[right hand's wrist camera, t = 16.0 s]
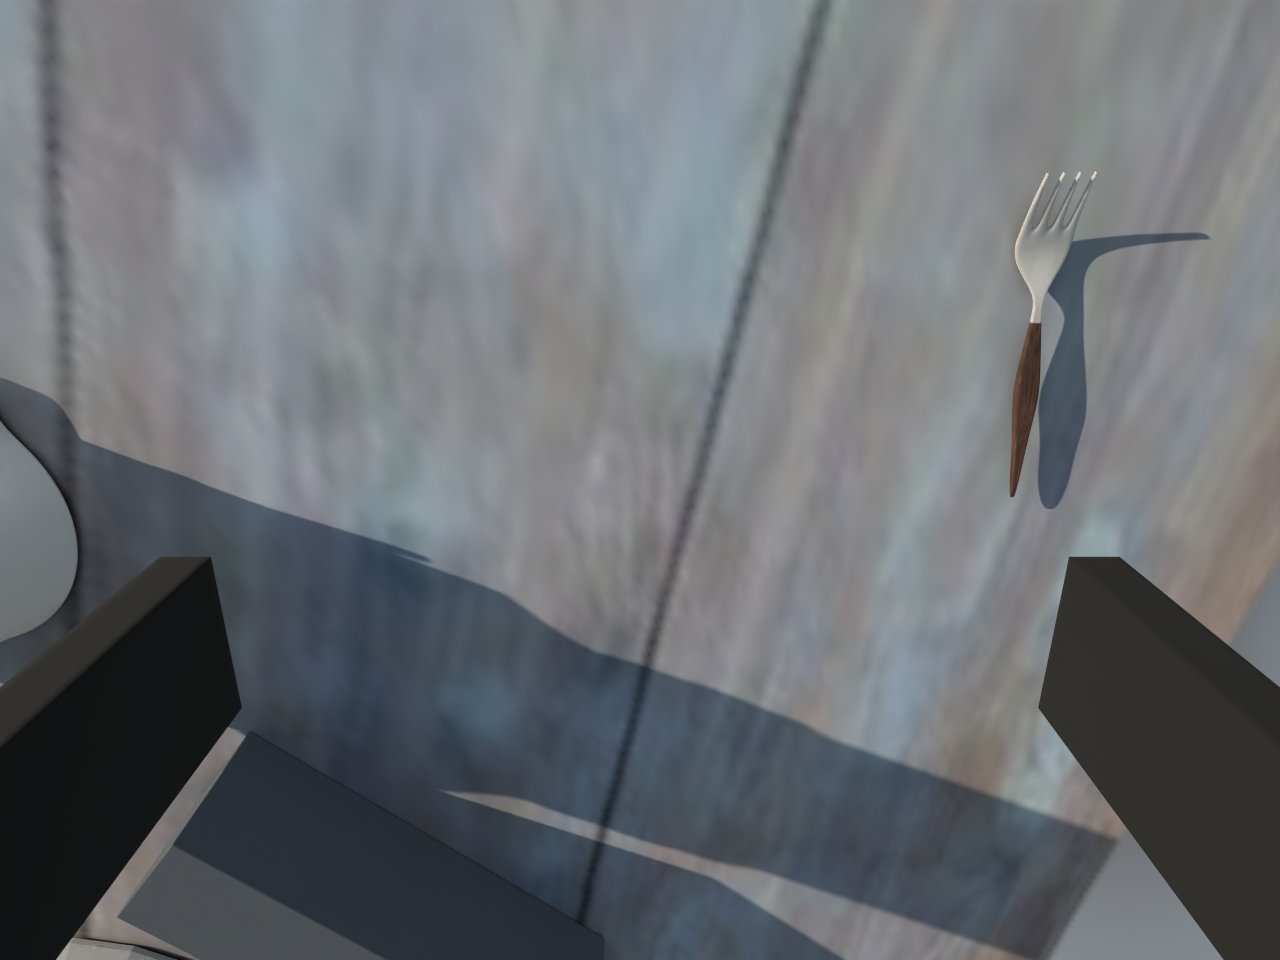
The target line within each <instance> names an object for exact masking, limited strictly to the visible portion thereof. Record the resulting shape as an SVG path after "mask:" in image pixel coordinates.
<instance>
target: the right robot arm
mask: <svg viewBox="0 0 1280 960" xmlns="http://www.w3.org/2000/svg"><path fill="white" fill-rule="evenodd" d="M241 708H242V707H241V702H240V697H239V692H238V688H237V683H236V678H235V673H234V668H233V663H232V658H231V653H230V648H229V644H228V639H227V634H226V629H225V624H224V619H223V614H222V609H221V604H220V600H219V595H218V590H217V585H216V580H215V575H214V570H213V565H212V560H211V557H160V558H159V559H157V560H156V561H155V562H154V563H153V564H151V565H150V566H149V567H148V568H146V569H145V570H144V571H143V572H141V573H140V574H139V575H138V576H137V577H135V578H134V579H133V580H132V581H130V582H129V583H128V584H127V585H126V586H124V587H123V588H122V589H121V590H119V591H118V592H117V593H116V594H114V595H113V596H112V597H111V598H110V599H108V600H107V601H106V602H105V603H103V604H102V605H101V606H100V607H98V608H97V609H96V610H95V611H94V612H92V613H91V614H90V615H89V616H87V617H86V618H85V619H84V620H83V621H81V622H80V623H79V624H78V625H76V626H75V627H74V628H73V629H71V630H70V631H69V632H68V633H67V634H65V635H64V636H63V637H62V638H60V639H59V640H58V641H57V642H55V643H54V644H53V645H52V646H51V647H49V648H48V649H47V650H46V651H44V652H43V653H42V654H41V655H39V656H38V657H37V658H36V659H35V660H33V661H32V662H31V663H30V664H28V665H27V666H26V667H25V668H24V669H22V670H21V671H20V672H19V673H17V674H16V675H15V676H14V677H12V678H11V679H10V680H9V681H8V682H6V683H5V684H4V685H3V686H1V687H0V960H56V959H57V958H58V957H59V955H60V954H61V952H62V951H63V950H64V948H65V947H66V946H67V944H68V943H69V942H70V940H71V939H72V938H73V936H74V935H75V933H76V932H77V931H78V929H79V928H80V927H81V925H82V924H83V923H84V921H85V920H86V919H87V917H88V916H89V914H90V913H91V912H92V910H93V909H94V908H95V906H96V905H97V904H98V902H99V901H100V900H101V898H102V897H103V895H104V894H105V893H106V891H107V890H108V889H109V887H110V886H111V885H112V883H113V882H114V880H115V879H116V878H117V876H118V875H119V874H120V872H121V871H122V870H123V868H124V867H125V866H126V864H127V863H128V861H129V860H130V859H131V857H132V856H133V855H134V853H135V852H136V851H137V849H138V848H139V847H140V845H141V844H142V842H143V841H144V840H145V838H146V837H147V836H148V834H149V833H150V832H151V830H152V829H153V828H154V826H155V825H156V823H157V822H158V821H159V819H160V818H161V817H162V815H163V814H164V813H165V811H166V810H167V809H168V807H169V806H170V804H171V803H172V802H173V800H174V799H175V798H176V796H177V795H178V794H179V792H180V791H181V790H182V788H183V787H184V785H185V784H186V783H187V781H188V780H189V779H190V777H191V776H192V775H193V773H194V772H195V770H196V769H197V768H198V766H199V765H200V764H201V762H202V761H203V760H204V758H205V757H206V756H207V754H208V753H209V751H210V750H211V749H212V747H213V746H214V745H215V743H216V742H217V741H218V739H219V738H220V737H221V735H222V734H223V732H224V731H225V730H226V728H227V727H228V726H229V724H230V723H231V722H232V720H233V719H234V718H235V716H236V715H237V713H238V712H239V711H240V709H241ZM1038 708H1039V709H1040V711H1041V712H1042V713H1043V715H1044V716H1045V718H1046V719H1047V720H1048V722H1049V723H1050V724H1051V726H1052V727H1053V728H1054V730H1055V731H1056V732H1057V734H1058V735H1059V737H1060V738H1061V739H1062V741H1063V742H1064V743H1065V745H1066V746H1067V747H1068V749H1069V750H1070V751H1071V753H1072V754H1073V756H1074V757H1075V758H1076V760H1077V761H1078V762H1079V764H1080V765H1081V766H1082V768H1083V769H1084V770H1085V772H1086V773H1087V775H1088V776H1089V777H1090V779H1091V780H1092V781H1093V783H1094V784H1095V785H1096V787H1097V788H1098V790H1099V791H1100V792H1101V794H1102V795H1103V796H1104V798H1105V799H1106V800H1107V802H1108V803H1109V804H1110V806H1111V807H1112V809H1113V810H1114V811H1115V813H1116V814H1117V815H1118V817H1119V818H1120V819H1121V821H1122V822H1123V823H1124V825H1125V826H1126V828H1127V829H1128V830H1129V832H1130V833H1131V834H1132V836H1133V837H1134V838H1135V840H1136V841H1137V842H1138V844H1139V845H1140V847H1141V848H1142V849H1143V851H1144V852H1145V853H1146V855H1147V856H1148V857H1149V859H1150V860H1151V861H1152V863H1153V864H1154V866H1155V867H1156V868H1157V870H1158V871H1159V872H1160V874H1161V875H1162V876H1163V878H1164V879H1165V880H1166V882H1167V883H1168V885H1169V886H1170V887H1171V889H1172V890H1173V891H1174V893H1175V894H1176V895H1177V897H1178V898H1179V900H1180V901H1181V902H1182V904H1183V905H1184V906H1185V908H1186V909H1187V910H1188V912H1189V913H1190V914H1191V916H1192V917H1193V919H1194V920H1195V921H1196V923H1197V924H1198V925H1199V927H1200V928H1201V929H1202V931H1203V932H1204V933H1205V935H1206V936H1207V938H1208V939H1209V940H1210V942H1211V943H1212V944H1213V946H1214V947H1215V948H1216V950H1217V951H1218V952H1219V954H1220V955H1221V957H1222V958H1223V959H1224V960H1280V687H1279V686H1277V685H1276V684H1275V683H1274V682H1272V681H1271V680H1270V679H1269V678H1268V677H1266V676H1265V675H1264V674H1262V673H1261V672H1260V671H1259V670H1258V669H1256V668H1255V667H1254V666H1253V665H1252V664H1250V663H1249V662H1248V661H1247V660H1245V659H1244V658H1243V657H1242V656H1241V655H1239V654H1238V653H1237V652H1236V651H1234V650H1233V649H1232V648H1231V647H1229V646H1228V645H1227V644H1226V643H1225V642H1223V641H1222V640H1221V639H1220V638H1218V637H1217V636H1216V635H1215V634H1213V633H1212V632H1211V631H1210V630H1209V629H1207V628H1206V627H1205V626H1204V625H1202V624H1201V623H1200V622H1199V621H1197V620H1196V619H1195V618H1194V617H1193V616H1191V615H1190V614H1189V613H1188V612H1186V611H1185V610H1184V609H1183V608H1182V607H1180V606H1179V605H1178V604H1177V603H1175V602H1174V601H1173V600H1172V599H1170V598H1169V597H1168V596H1167V595H1166V594H1164V593H1163V592H1162V591H1161V590H1159V589H1158V588H1157V587H1156V586H1154V585H1153V584H1152V583H1151V582H1150V581H1148V580H1147V579H1146V578H1145V577H1143V576H1142V575H1141V574H1140V573H1139V572H1137V571H1136V570H1135V569H1134V568H1132V567H1131V566H1130V565H1129V564H1127V563H1126V562H1125V561H1124V560H1123V559H1121V558H1120V557H1069V560H1068V565H1067V570H1066V575H1065V580H1064V585H1063V590H1062V595H1061V600H1060V604H1059V609H1058V614H1057V619H1056V624H1055V629H1054V634H1053V639H1052V644H1051V648H1050V653H1049V658H1048V663H1047V668H1046V673H1045V678H1044V683H1043V688H1042V692H1041V697H1040V702H1039V707H1038Z"/></svg>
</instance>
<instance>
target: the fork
mask: <svg viewBox="0 0 1280 960" xmlns="http://www.w3.org/2000/svg"><path fill="white" fill-rule="evenodd" d="M1097 174H1098V173H1097V172H1094V174H1093V176H1092V178H1091V180H1090V182H1089V184H1088V186H1087V187H1086V189H1085V191H1084V193H1083V195H1082V197H1081V199H1080V201H1079V203H1078V205H1077V207H1076V209H1075V211H1074V213H1073V215H1072V217H1071V219H1070V221H1069V223H1068V224H1067V225H1066V226H1065V227H1063V226H1062V224H1063V220H1064V216H1065V214H1066V211H1067V208H1068V205H1069V203H1070V200H1071V198H1072V195H1073V192H1074V190H1075V187H1076V185H1077V182H1078V180H1079V178H1080V176H1081V172H1079V173H1078V175H1077V177H1076V179H1075V180H1074V182H1073V184H1072V186H1071V188H1070V190H1069V192H1068V194H1067V196H1066V198H1065V200H1064V202H1063V204H1062V206H1061V208H1060V210H1059V213H1058V215H1057V217H1056V219H1055V221H1054V223H1053V224H1052V226H1051V227H1047V222H1048V219H1049V216H1050V213H1051V210H1052V207H1053V204H1054V202H1055V199H1056V196H1057V193H1058V191H1059V188H1060V186H1061V183H1062V180H1063V178H1064V176H1065V173H1064V172H1063V173H1062V175H1061V177H1060V179H1059V181H1058V183H1057V185H1056V187H1055V189H1054V191H1053V193H1052V195H1051V197H1050V199H1049V201H1048V204H1047V206H1046V208H1045V210H1044V212H1043V214H1042V217H1041V219H1040V221H1039V223H1038V224H1037V226H1036V227H1035V228H1032V221H1033V218H1034V215H1035V212H1036V209H1037V206H1038V203H1039V200H1040V197H1041V195H1042V192H1043V189H1044V186H1045V183H1046V181H1047V179H1048V177H1049V173H1046V175H1045V177H1044V179H1043V182H1042V184H1041V186H1040V188H1039V190H1038V192H1037V194H1036V196H1035V198H1034V201H1033V203H1032V205H1031V207H1030V209H1029V212H1028V214H1027V216H1026V219H1025V221H1024V224H1023V226H1022V229H1021V231H1020V233H1019V236H1018V239H1017V242H1016V246H1015V258H1016V263H1017V266H1018V268H1019V271H1020V273H1021V274H1022V276H1023V278H1024V280H1025V282H1026V283H1027V285H1028V287H1029V289H1030V291H1031V294H1032V297H1033V310H1032V315H1031V320H1030V324H1029V328H1028V332H1027V335H1026V339H1025V343H1024V347H1023V351H1022V355H1021V359H1020V363H1019V367H1018V371H1017V376H1016V380H1015V386H1014V393H1013V410H1012V451H1011V469H1010V497H1014V495H1015V492H1016V488H1017V485H1018V481H1019V476H1020V472H1021V468H1022V463H1023V459H1024V455H1025V450H1026V446H1027V442H1028V437H1029V433H1030V429H1031V425H1032V422H1033V418H1034V413H1035V409H1036V405H1037V400H1038V393H1039V383H1040V357H1041V317H1042V306H1043V301H1044V298H1045V295H1046V293H1047V291H1048V289H1049V287H1050V285H1051V283H1052V282H1053V280H1054V278H1055V277H1056V275H1057V273H1058V272H1059V270H1060V268H1061V266H1062V265H1063V263H1064V261H1065V259H1066V257H1067V254H1068V252H1069V249H1070V247H1071V243H1072V240H1073V236H1074V233H1075V229H1076V226H1077V222H1078V220H1079V217H1080V214H1081V212H1082V209H1083V206H1084V204H1085V201H1086V199H1087V196H1088V194H1089V192H1090V189H1091V187H1092V184H1093V182H1094V180H1095V178H1096V176H1097Z"/></svg>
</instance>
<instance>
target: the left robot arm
mask: <svg viewBox="0 0 1280 960" xmlns="http://www.w3.org/2000/svg"><path fill="white" fill-rule="evenodd" d="M77 562H78V546H77V538H76V532H75V528H74V524H73V520H72V517H71V514H70V512H69V509H68V507H67V504H66V502H65V500H64V498H63V496H62V494H61V492H60V491H59V489H58V487H57V486H56V484H55V482H54V481H53V479H52V478H51V476H50V475H49V474H48V472H47V471H46V470H45V468H44V467H43V466H42V465H41V464H40V462H39V461H38V460H37V459H36V458H35V457H34V456H33V455H32V454H31V453H30V452H29V451H28V450H27V449H26V448H25V447H24V446H23V445H22V444H21V443H20V442H19V441H18V440H17V439H16V438H15V437H14V436H13V435H12V434H11V433H10V432H9V431H8V429H7V428H6V427H5V426H4V425H3V423H2V422H1V421H0V642H2V641H4V640H7V639H10V638H13V637H16V636H18V635H21V634H24V633H26V632H28V631H31V630H33V629H34V628H36V627H38V626H40V625H41V624H43V623H44V622H45V621H47V620H48V619H49V618H50V617H51V616H52V615H53V614H54V613H55V612H56V611H57V610H58V609H59V608H60V607H61V605H62V604H63V603H64V601H65V600H66V598H67V596H68V594H69V592H70V590H71V588H72V585H73V582H74V579H75V575H76V570H77Z"/></svg>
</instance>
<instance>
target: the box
mask: <svg viewBox="0 0 1280 960" xmlns="http://www.w3.org/2000/svg"><path fill="white" fill-rule="evenodd" d="M117 917H118V918H119V919H121V920H123V921H125V922H127V923H129V924H131V925H133V926H135V927H137V928H139V929H141V930H143V931H145V932H147V933H149V934H151V935H153V936H155V937H157V938H159V939H161V940H163V941H165V942H167V943H169V944H171V945H173V946H175V947H177V948H179V949H181V950H182V951H184V952H186V953H188V954H190V955H192V956H194V957H196V958H198V959H200V960H603V952H604V938H603V937H601V936H600V935H598V934H596V933H594V932H593V931H591V930H589V929H588V928H586V927H584V926H582V925H581V924H579V923H577V922H576V921H574V920H572V919H570V918H569V917H567V916H565V915H564V914H562V913H560V912H558V911H557V910H555V909H553V908H552V907H550V906H548V905H546V904H545V903H543V902H541V901H540V900H538V899H536V898H534V897H533V896H531V895H529V894H528V893H526V892H524V891H522V890H521V889H519V888H517V887H516V886H514V885H512V884H510V883H509V882H507V881H505V880H504V879H502V878H500V877H498V876H497V875H495V874H493V873H492V872H490V871H488V870H486V869H485V868H483V867H481V866H479V865H478V864H476V863H474V862H473V861H471V860H469V859H467V858H466V857H464V856H462V855H461V854H459V853H457V852H455V851H454V850H452V849H450V848H449V847H447V846H445V845H443V844H442V843H440V842H438V841H437V840H435V839H433V838H431V837H430V836H428V835H426V834H425V833H423V832H421V831H419V830H418V829H416V828H414V827H413V826H411V825H409V824H407V823H406V822H404V821H402V820H401V819H399V818H397V817H395V816H394V815H392V814H390V813H389V812H387V811H385V810H383V809H382V808H380V807H378V806H377V805H375V804H373V803H371V802H370V801H368V800H366V799H365V798H363V797H361V796H359V795H358V794H356V793H354V792H352V791H351V790H349V789H347V788H346V787H344V786H342V785H340V784H339V783H337V782H335V781H334V780H332V779H330V778H328V777H327V776H325V775H323V774H322V773H320V772H318V771H316V770H315V769H313V768H311V767H310V766H308V765H306V764H304V763H303V762H301V761H299V760H298V759H296V758H294V757H292V756H291V755H289V754H287V753H286V752H284V751H282V750H280V749H279V748H277V747H275V746H274V745H272V744H270V743H268V742H267V741H265V740H263V739H262V738H260V737H258V736H256V735H255V734H253V733H251V732H250V733H248V735H247V736H246V737H245V739H244V740H243V741H242V743H241V744H240V745H239V747H238V748H237V749H236V751H235V752H234V753H233V754H232V756H231V757H230V758H229V760H228V761H227V762H226V764H225V765H224V766H223V768H222V769H221V770H220V772H219V773H218V774H217V775H216V777H215V778H214V779H213V781H212V782H211V783H210V785H209V786H208V787H207V789H206V790H205V791H204V793H203V794H202V795H201V797H200V798H199V799H198V801H197V802H196V804H195V805H194V807H193V808H192V809H191V811H190V812H189V814H188V815H187V817H186V818H185V819H184V821H183V822H182V824H181V825H180V827H179V828H178V829H177V831H176V832H175V834H174V835H173V837H172V838H171V839H170V841H169V842H168V844H167V845H166V847H165V848H164V849H163V851H162V852H161V854H160V855H159V857H158V858H157V859H156V861H155V862H154V864H153V865H152V867H151V868H150V869H149V871H148V872H147V874H146V875H145V877H144V878H143V879H142V881H141V882H140V884H139V885H138V887H137V888H136V889H135V891H134V892H133V894H132V895H131V897H130V898H129V899H128V901H127V902H126V904H125V905H124V907H123V908H122V909H121V911H120V912H119V914H118V915H117Z"/></svg>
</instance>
